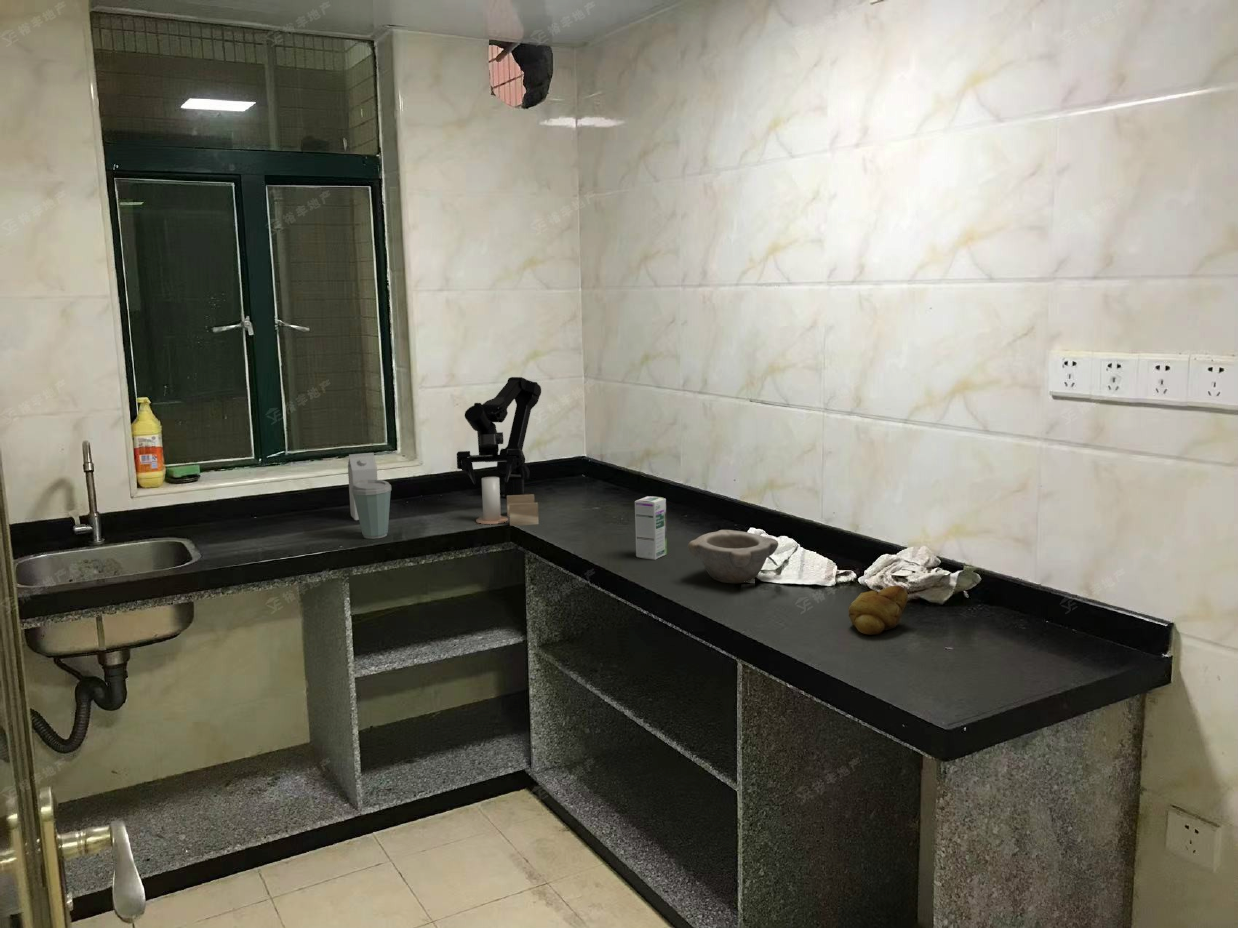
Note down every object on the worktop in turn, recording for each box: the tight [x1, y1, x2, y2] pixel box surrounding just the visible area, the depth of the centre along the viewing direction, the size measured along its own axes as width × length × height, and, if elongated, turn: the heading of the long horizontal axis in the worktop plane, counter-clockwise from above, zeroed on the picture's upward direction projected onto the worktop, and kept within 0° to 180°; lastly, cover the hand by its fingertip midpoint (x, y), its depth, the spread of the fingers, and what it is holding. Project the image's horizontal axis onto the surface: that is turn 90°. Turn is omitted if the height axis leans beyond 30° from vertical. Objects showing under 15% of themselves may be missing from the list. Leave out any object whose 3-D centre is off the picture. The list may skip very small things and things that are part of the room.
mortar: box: [687, 529, 779, 584], centre depth 222 cm, size 17×17×9 cm
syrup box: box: [634, 495, 668, 561], centre depth 241 cm, size 6×6×14 cm
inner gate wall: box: [506, 493, 536, 517], centre depth 288 cm, size 2×8×6 cm, turn 100°
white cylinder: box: [481, 476, 502, 521], centre depth 280 cm, size 5×5×12 cm
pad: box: [475, 515, 509, 526], centre depth 281 cm, size 9×9×1 cm
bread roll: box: [847, 585, 909, 636], centre depth 188 cm, size 13×10×8 cm
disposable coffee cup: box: [352, 478, 392, 540], centre depth 264 cm, size 11×11×15 cm
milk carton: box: [347, 452, 378, 521], centre depth 287 cm, size 7×7×19 cm
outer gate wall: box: [509, 502, 539, 526], centre depth 277 cm, size 2×8×6 cm, turn 100°
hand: (490, 482), depth 284 cm, fingers open, 9 cm apart
